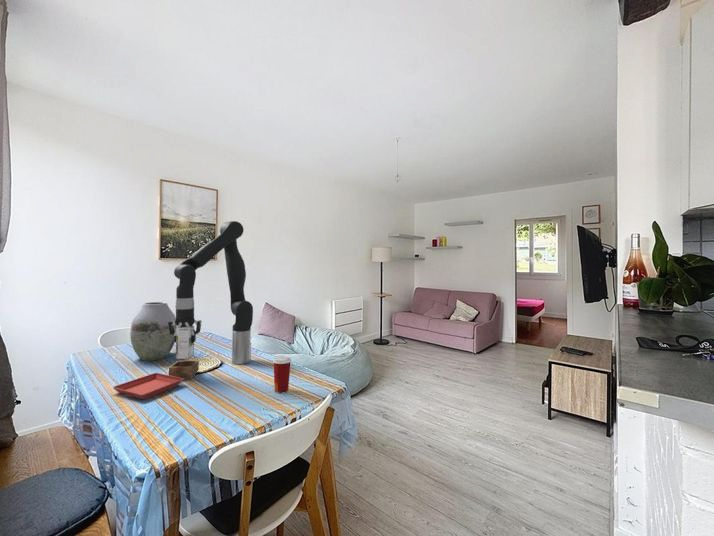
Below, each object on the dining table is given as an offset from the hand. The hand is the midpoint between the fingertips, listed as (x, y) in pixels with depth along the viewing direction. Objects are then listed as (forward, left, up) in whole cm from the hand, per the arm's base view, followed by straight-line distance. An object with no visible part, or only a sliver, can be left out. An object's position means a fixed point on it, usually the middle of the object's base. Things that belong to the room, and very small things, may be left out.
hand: (185, 342), depth 143 cm
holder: (0, 0, -15) cm, 15 cm away
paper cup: (-46, +22, -16) cm, 53 cm away
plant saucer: (+8, +15, -16) cm, 23 cm away
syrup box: (0, 0, -7) cm, 7 cm away
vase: (+26, -30, -16) cm, 43 cm away
